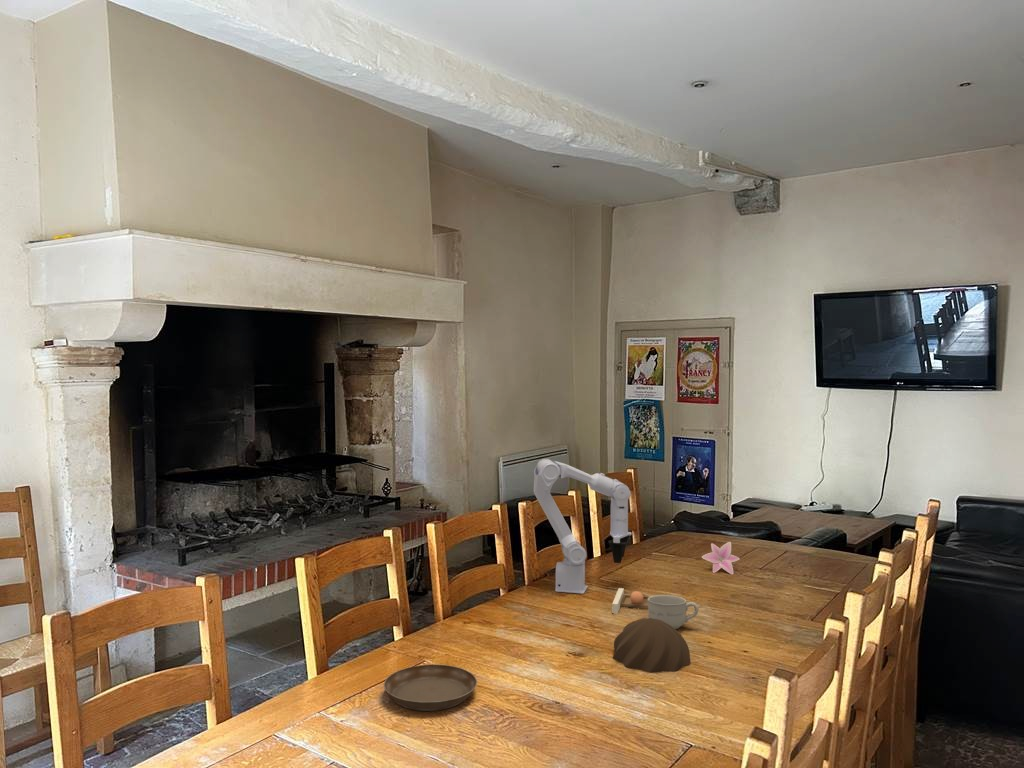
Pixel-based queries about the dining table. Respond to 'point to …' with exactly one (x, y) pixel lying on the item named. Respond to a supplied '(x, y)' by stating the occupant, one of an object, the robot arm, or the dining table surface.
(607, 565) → the dining table surface
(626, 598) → the tray
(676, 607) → the teacup
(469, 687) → the plant saucer
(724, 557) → the lily
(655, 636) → the decorative dome
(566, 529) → the robot arm
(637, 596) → the ball
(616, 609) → the strip
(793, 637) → the dining table surface
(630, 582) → the dining table surface
